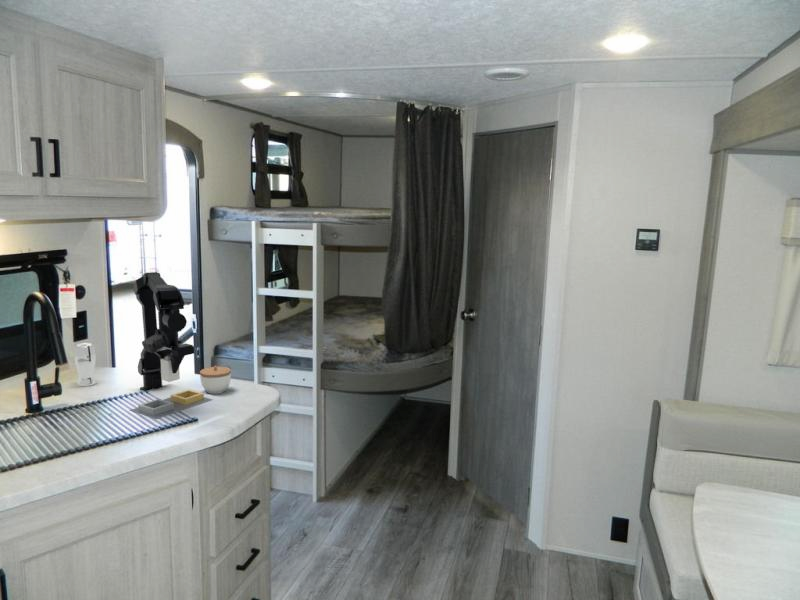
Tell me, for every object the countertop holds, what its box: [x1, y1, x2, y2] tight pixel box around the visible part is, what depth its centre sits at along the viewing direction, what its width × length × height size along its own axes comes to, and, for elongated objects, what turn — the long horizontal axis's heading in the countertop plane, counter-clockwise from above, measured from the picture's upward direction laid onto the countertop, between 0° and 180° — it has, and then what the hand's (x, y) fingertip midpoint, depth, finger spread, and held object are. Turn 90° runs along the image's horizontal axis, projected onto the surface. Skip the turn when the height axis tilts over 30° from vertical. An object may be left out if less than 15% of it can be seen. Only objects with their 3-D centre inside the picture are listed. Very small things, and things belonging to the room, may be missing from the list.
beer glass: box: [73, 342, 97, 387], centre depth 211 cm, size 7×7×15 cm
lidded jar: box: [199, 365, 232, 395], centre depth 205 cm, size 11×11×9 cm
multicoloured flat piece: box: [128, 389, 213, 420], centre depth 188 cm, size 14×22×3 cm, turn 149°
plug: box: [161, 356, 180, 383], centre depth 186 cm, size 4×4×8 cm
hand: (170, 372), depth 186 cm, fingers closed on plug, 4 cm apart
